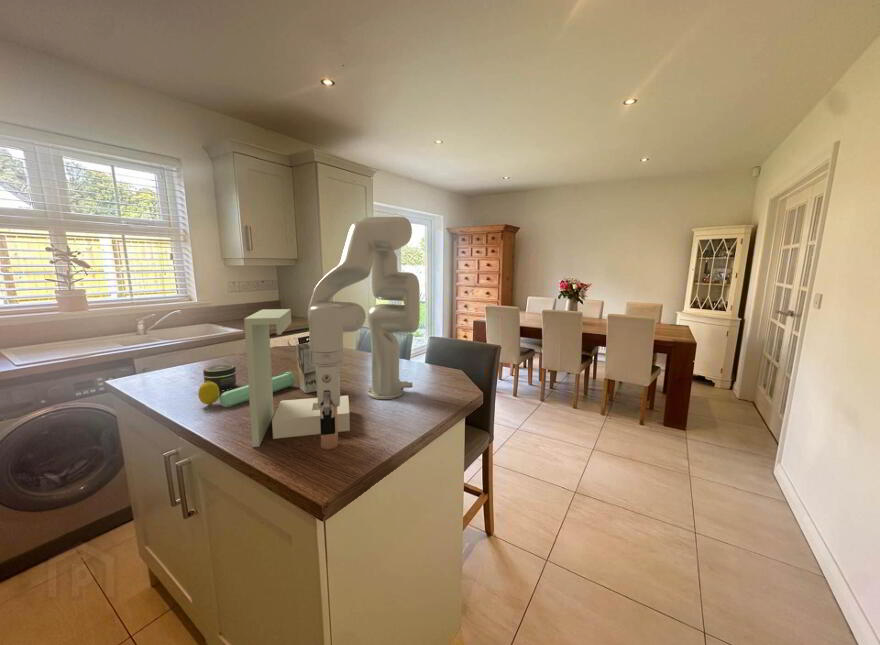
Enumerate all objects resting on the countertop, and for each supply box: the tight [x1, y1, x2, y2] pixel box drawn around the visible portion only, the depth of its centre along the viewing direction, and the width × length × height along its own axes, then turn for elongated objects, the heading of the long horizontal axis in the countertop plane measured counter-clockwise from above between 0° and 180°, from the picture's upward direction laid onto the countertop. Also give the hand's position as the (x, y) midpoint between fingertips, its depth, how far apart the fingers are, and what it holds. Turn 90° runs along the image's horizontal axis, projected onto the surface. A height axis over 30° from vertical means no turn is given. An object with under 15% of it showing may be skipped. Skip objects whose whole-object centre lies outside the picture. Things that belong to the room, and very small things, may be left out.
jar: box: [202, 363, 237, 392], centre depth 127 cm, size 10×10×8 cm
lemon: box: [197, 381, 221, 406], centre depth 110 cm, size 6×6×8 cm
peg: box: [320, 403, 339, 450], centre depth 86 cm, size 4×4×12 cm
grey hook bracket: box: [243, 308, 292, 448], centre depth 94 cm, size 8×20×32 cm, turn 16°
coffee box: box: [296, 342, 317, 394], centre depth 127 cm, size 9×6×16 cm
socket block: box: [271, 394, 351, 440], centre depth 99 cm, size 19×14×5 cm
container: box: [219, 371, 296, 408], centre depth 120 cm, size 6×6×25 cm
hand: (328, 425), depth 86 cm, fingers open, 9 cm apart
